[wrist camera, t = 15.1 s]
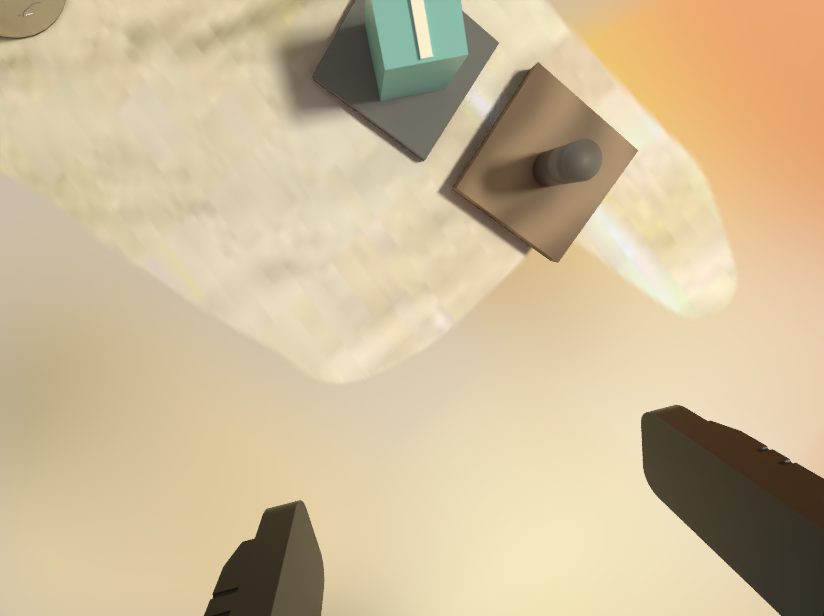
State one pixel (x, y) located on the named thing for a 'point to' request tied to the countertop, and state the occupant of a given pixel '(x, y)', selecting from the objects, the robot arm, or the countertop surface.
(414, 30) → the striped teal box
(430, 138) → the mat
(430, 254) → the countertop surface
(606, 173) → the post base
